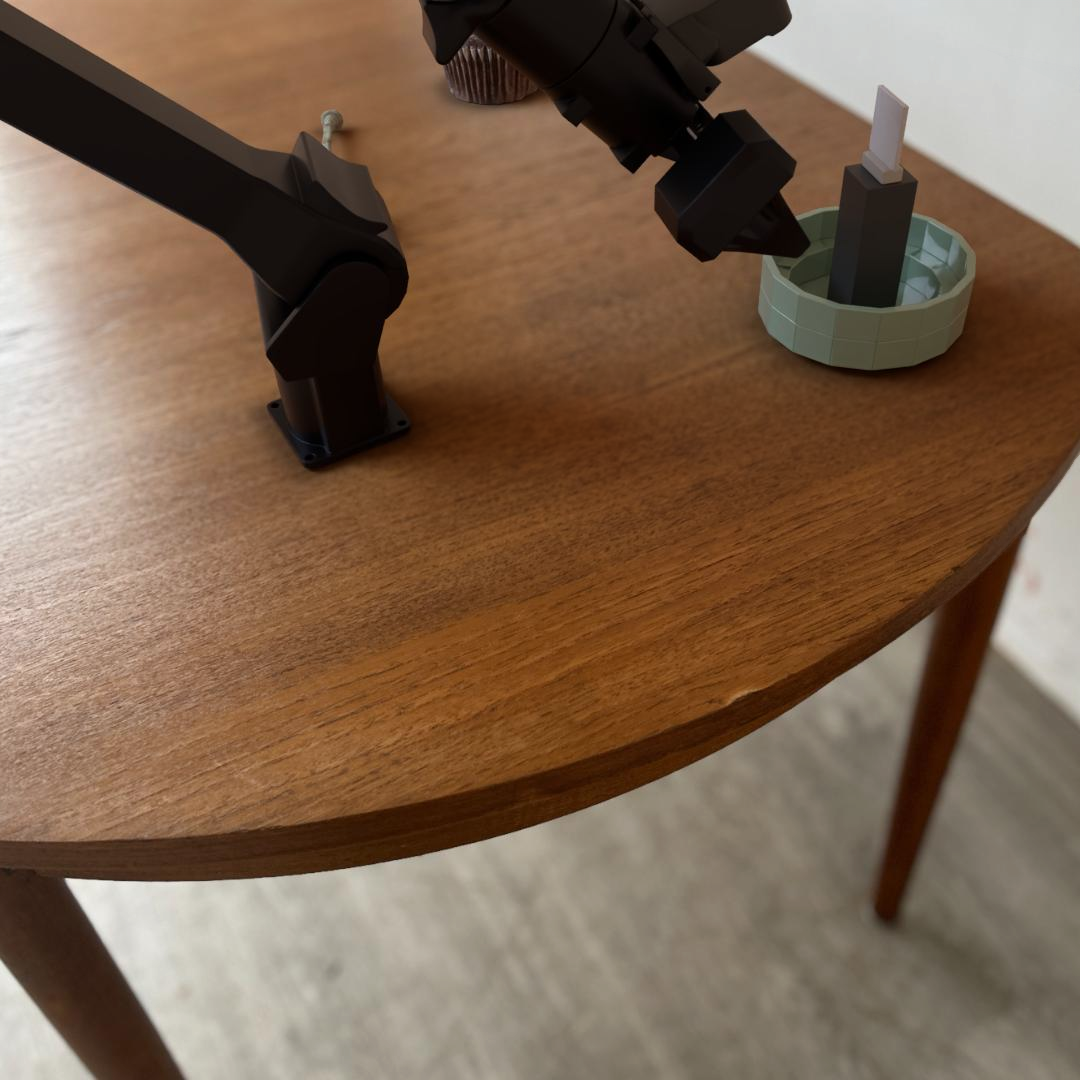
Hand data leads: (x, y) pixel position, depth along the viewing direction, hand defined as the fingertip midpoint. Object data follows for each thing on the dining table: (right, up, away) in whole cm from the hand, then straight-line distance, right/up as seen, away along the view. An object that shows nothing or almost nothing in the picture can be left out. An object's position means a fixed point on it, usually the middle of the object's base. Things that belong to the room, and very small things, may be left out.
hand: (769, 209), depth 66 cm
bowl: (+7, -5, +7) cm, 11 cm away
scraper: (+7, -4, +7) cm, 10 cm away
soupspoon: (-28, +7, +22) cm, 37 cm away
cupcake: (-16, +20, +35) cm, 43 cm away
